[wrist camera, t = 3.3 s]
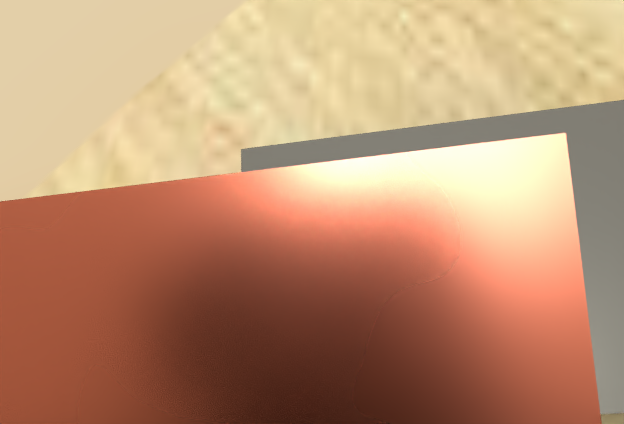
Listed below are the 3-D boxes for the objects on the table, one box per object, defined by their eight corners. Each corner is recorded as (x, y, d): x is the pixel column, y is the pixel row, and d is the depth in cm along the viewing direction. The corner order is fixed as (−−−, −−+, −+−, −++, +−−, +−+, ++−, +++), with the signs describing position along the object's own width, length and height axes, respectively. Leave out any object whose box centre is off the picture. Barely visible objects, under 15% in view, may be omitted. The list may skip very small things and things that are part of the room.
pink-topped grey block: (465, 304, 12) (609, 491, 3) (269, 319, 13) (-29, 504, 4) (454, 204, 12) (565, 133, 4) (260, 224, 13) (-47, 208, 4)
